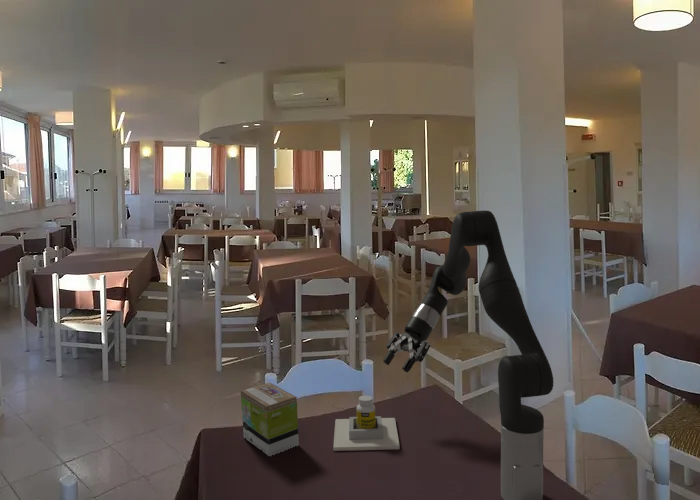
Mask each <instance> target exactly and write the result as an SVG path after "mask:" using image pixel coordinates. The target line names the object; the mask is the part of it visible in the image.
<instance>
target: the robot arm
mask: <svg viewBox="0 0 700 500" xmlns="http://www.w3.org/2000/svg"><path fill="white" fill-rule="evenodd" d="M453 218H454V219H453V221H452V225H451V231H450V232H451V233H450V236H449V243H448V252H447V255H446V258H445V259H444V262H443V264H442V265H438V266H437V267H436V268H435V269H434V272H433V274H432V277H431V282H430V285H429V287H428V288H429V289H428V290H427V292H426V294H425V296H424V298H423V299H422V301H421V303H420V304H419V305H418V306H417V308H416V309H415V310H414V312H413V314H412V315H411V317H410V318H409V320H408V322H407V323H406V325H405V326H404V332H403V333H402V334H400V333H399V332H398V331H395V332H394V333H393V335H392V337H391V338H390V339H389V340H388V342H387V343H386V345H385V348H386V349H387V350H388V352H387V353H386V354H385V356H384V358H383V363H384V364H385V365H387V366H390V364H391V363H392V361H393V359H394V358H395V356H396V355H397V354H399V353H401V352H403V351H404V352H407V353H409V357H408V358H407V359H406V361H405V363H404V364H403V366H402V367H401V369H402V370H403V372H405V373H409V372H410V371H411V369H413V366H414V364H415V363H417V362H420V363H422V362H423V361H424V359H425V356H427V353H428V352H429V350H430V347H431V345H430V343H428V339H429V337H430V335H431V334H432V332H433V330H434V329H435V327H436V325H437V324H438V322H439V319H440V317H441V316H442V314H443V312H444V311H445V309H446V307H447V305H448V299H447V298H446V297H445V295H444V294H442V293H441V291H440V290H439V288H440V289H442V290H443V291H444V292H446V293H448V294H450V295H452V296H457V295H460V294H461V293H462V292H463V291H464V289H465V287H466V284H467V273H466V272H467V270H468V268H469V266H470V264H471V254H470V253H469V250H467V248H466V247H477V246H485V248H486V249H487V259H486V263H485V266H484V268H483V271H482V273H481V275H480V278H479V281H478V282H479V283H478V292H479V297H480V301H481V302H482V305H483V309H484V312H485V313H486V314H487V316H488V317H489V318H490V319H491V320H492V321H493V322H494V323H495V325H497V326H498V327H499V328H500V329H501V330H503V332H505V333H506V334H507V335H508V336H509V337H510V338H511V339H512V340H513V342H514V344H516V346H517V348H518V350H519V352H520V354H516V355H507V356H503V357H502V358H500V361H499V363H498V368H497V369H498V370H497V379H498V380H497V381H498V402H499V403H498V404H499V405H498V406H499V407H498V408H499V414H500V496H501V498H502V499H503V500H543V499H544V497H543V496H544V433H545V432H544V431H545V430H544V427H545V421H544V420H545V418H544V414H543V413H542V412H541V411H540V410H538V409H536V408H535V407H532V406H529V405H525V404H522V399H523V398H530V397H531V398H533V397H540V396H541V397H542V396H547V395H549V394H550V393H552V391H553V390H554V389H553V387H554V375H553V371H552V367H551V364H550V362H549V360H548V357H547V355H546V353H545V351H544V349H543V347H542V345H541V343H540V341H539V338H538V336H537V334H536V332H535V330H534V327H533V326H532V323H531V320H530V318H529V315H528V312H527V309H526V307H525V304H524V301H523V300H524V299H523V298H522V295H521V292H520V289H519V286H518V283H517V282H516V279H515V277H514V276H515V275H514V274H513V271H512V268H511V266H510V263H509V260H508V257H507V255H506V251H505V248H504V244H503V239H502V236H501V233H500V229H499V225H498V221H497V219H496V217H495V215H494V214H493V212H492V211H490V210H474V211H464V212H463V211H462V212H459V213H457V214H456V215H455V217H453Z"/></svg>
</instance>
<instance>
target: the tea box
mask: <svg viewBox="0 0 700 500" xmlns="http://www.w3.org/2000/svg"><path fill="white" fill-rule="evenodd" d="M297 398H298V397H297V396H295V395H294V394H292V393H290V392H288V391H286V390H285V389H283V388H281V387H278V386H277V385H275V384H274V383H272V382H267V383H263V384H259V385H257V386H256V385H255V386H253V387H250V388H247V389H244V390H240V402H241V413H242V414H241V415H242V418H241V419H242V430H243V432H242V433H243V438H244V439H245V438H246V441H248V442H249V443H251V444H252V445H253V446H255V447H256V448H257V449H259V450H260V451H261V450H262V451H261V452H263V453H264V454H266V456H267V457H269V456H270V457H272V455H273V456H275V454H276V455H278V454H281V453H283V452H286V451H288V449H289V450H291V449H293V447H294V448H296V447H298V446H299V445H300V442H299V441H300V439H299V421H298V401H297V400H298V399H297ZM295 446H296V447H295ZM290 448H291V449H290ZM285 450H286V451H285ZM280 452H281V453H280ZM277 453H278V454H277Z"/></svg>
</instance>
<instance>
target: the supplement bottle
mask: <svg viewBox="0 0 700 500" xmlns="http://www.w3.org/2000/svg"><path fill="white" fill-rule="evenodd" d="M373 399H374V398H373V396H370V395H362V396H361V395H360V396H359V397H358V403H357V405H356V417H357V429H375V416H376V406H375V404H374V401H373Z"/></svg>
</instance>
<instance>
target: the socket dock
mask: <svg viewBox="0 0 700 500" xmlns="http://www.w3.org/2000/svg"><path fill="white" fill-rule="evenodd" d="M399 440H400V439H399V435H398V429H397V422H396V418H395V417H382V416H381V415H379V416H377V415H375V429H357V416H349V418H336V419H335V422H334V435H333V451H334V452H338V451H339V452H341V451H343V452H344V451H377V450H378V451H379V450H380V451H381V450H382V451H383V450H384V451H385V450H386V451H387V450H401V449H400V441H399Z"/></svg>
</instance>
